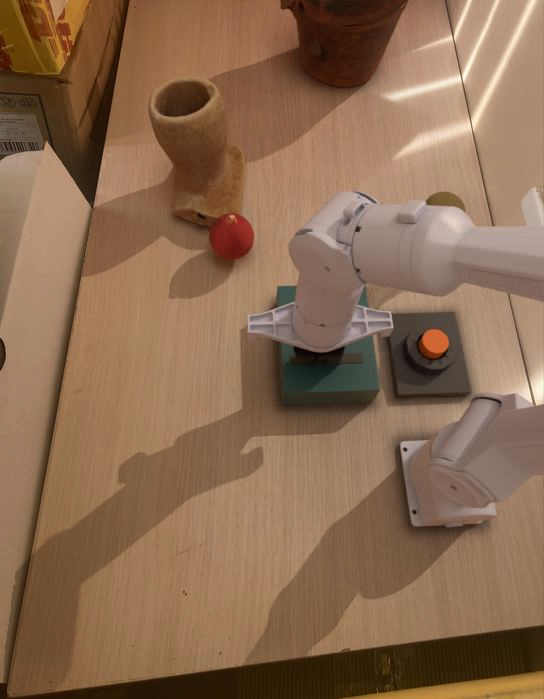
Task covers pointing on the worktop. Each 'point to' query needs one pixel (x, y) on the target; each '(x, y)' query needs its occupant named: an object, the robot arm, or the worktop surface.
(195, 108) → the tan hollow curved piece
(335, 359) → the slider knob
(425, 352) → the button
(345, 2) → the brown plant pot
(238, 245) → the onion
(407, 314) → the block
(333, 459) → the worktop surface
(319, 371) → the green slider box
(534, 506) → the worktop surface
